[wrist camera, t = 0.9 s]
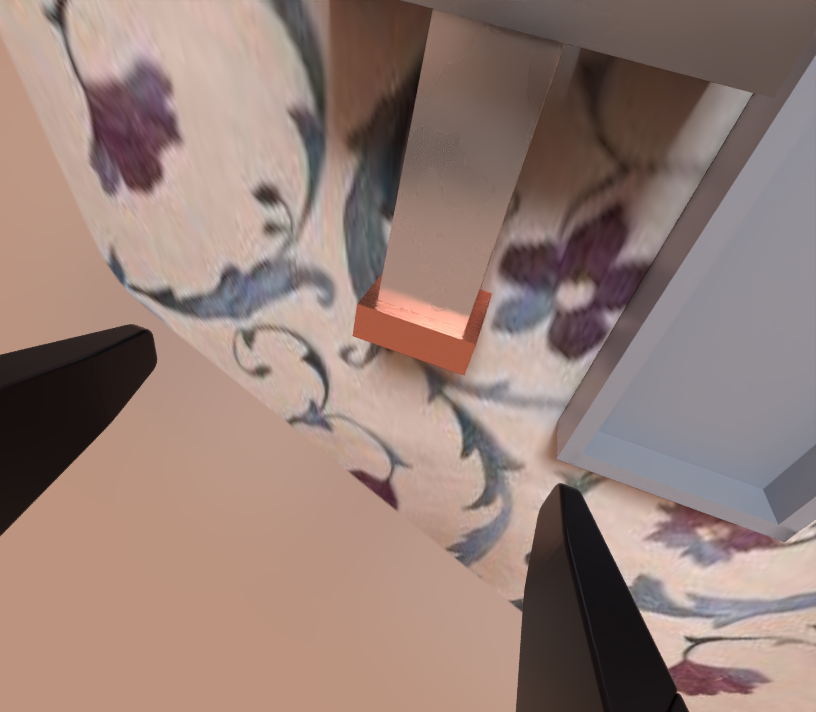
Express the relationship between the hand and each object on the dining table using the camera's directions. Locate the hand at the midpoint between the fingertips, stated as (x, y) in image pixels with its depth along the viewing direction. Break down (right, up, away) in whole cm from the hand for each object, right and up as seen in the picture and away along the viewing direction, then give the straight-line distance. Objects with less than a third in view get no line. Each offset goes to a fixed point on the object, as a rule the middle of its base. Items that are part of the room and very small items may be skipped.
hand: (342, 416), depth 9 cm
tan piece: (+4, +9, +7) cm, 12 cm away
